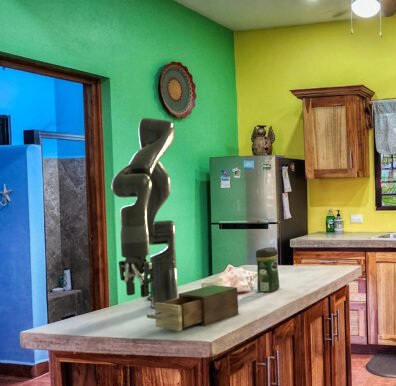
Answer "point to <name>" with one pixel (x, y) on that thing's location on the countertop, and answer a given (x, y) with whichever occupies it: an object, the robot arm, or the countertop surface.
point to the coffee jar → (267, 269)
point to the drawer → (178, 313)
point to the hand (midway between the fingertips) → (137, 295)
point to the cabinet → (215, 302)
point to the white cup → (212, 282)
